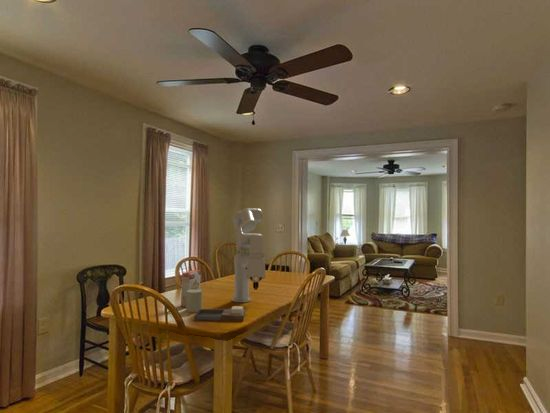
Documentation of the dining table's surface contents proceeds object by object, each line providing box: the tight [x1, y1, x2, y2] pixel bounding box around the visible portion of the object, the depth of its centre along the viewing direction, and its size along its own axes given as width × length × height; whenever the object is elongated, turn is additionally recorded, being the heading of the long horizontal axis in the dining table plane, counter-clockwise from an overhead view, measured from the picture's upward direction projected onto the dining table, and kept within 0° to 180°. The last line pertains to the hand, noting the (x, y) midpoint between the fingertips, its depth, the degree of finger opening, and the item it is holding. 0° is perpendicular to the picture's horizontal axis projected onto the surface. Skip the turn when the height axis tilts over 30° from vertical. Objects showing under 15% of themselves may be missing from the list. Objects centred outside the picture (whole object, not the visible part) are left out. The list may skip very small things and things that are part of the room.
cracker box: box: [180, 269, 202, 308], centre depth 218 cm, size 14×6×21 cm, turn 163°
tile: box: [230, 305, 244, 314], centre depth 192 cm, size 6×6×2 cm
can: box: [185, 288, 203, 313], centre depth 205 cm, size 9×9×12 cm
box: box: [193, 308, 225, 322], centre depth 191 cm, size 14×14×2 cm
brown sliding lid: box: [220, 307, 246, 322], centre depth 191 cm, size 14×12×3 cm
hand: (255, 289), depth 192 cm, fingers closed
